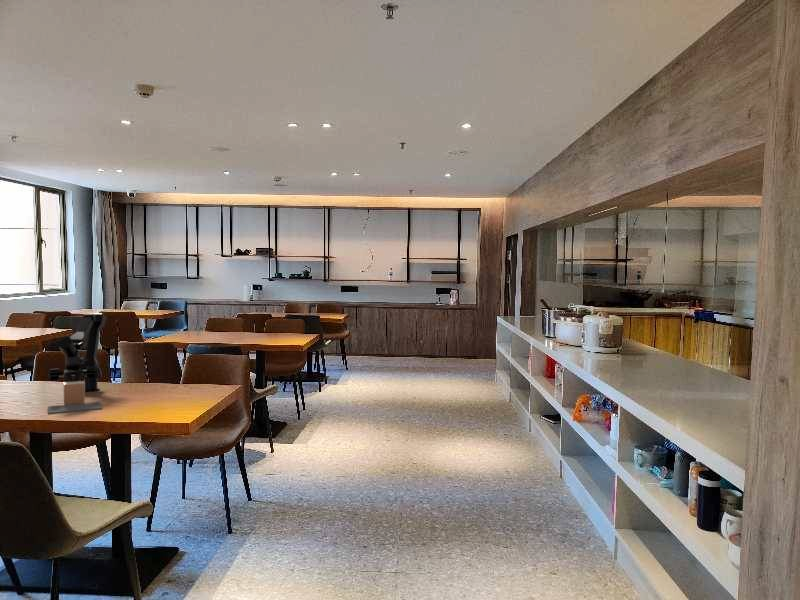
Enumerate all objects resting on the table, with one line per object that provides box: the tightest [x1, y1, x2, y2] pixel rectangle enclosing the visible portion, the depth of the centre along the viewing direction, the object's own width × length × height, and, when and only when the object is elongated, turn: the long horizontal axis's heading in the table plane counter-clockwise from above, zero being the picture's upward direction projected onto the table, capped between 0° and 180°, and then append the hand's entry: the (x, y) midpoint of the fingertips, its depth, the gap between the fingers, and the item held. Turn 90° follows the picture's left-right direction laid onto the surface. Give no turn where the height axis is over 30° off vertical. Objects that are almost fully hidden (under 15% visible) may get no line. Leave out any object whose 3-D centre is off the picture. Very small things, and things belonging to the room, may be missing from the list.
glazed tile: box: [63, 380, 86, 405], centre depth 255 cm, size 3×8×10 cm, turn 122°
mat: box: [47, 401, 103, 415], centre depth 248 cm, size 13×20×1 cm, turn 122°
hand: (73, 388), depth 256 cm, fingers closed
